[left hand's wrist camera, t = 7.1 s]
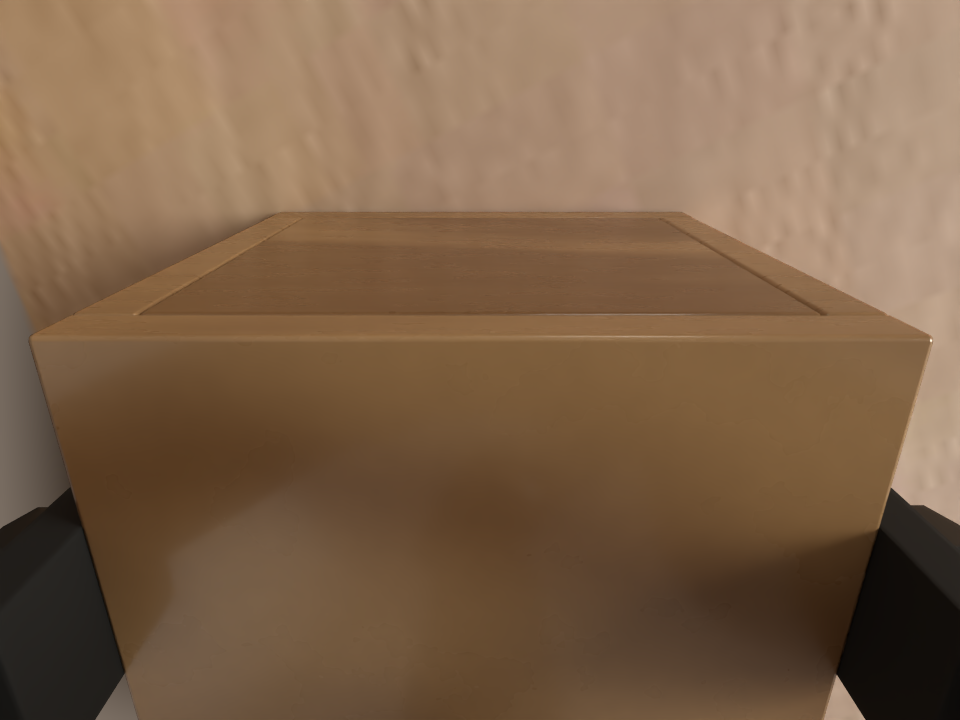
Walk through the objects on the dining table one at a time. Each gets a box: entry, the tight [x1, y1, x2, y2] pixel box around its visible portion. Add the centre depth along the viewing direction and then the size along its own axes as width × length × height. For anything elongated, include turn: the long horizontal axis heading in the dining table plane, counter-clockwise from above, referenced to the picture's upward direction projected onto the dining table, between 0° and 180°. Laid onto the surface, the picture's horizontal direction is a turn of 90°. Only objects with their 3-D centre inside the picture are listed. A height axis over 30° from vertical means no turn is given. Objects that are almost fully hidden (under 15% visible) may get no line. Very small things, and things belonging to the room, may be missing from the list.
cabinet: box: [29, 212, 933, 720], centre depth 16 cm, size 19×11×10 cm, turn 0°
